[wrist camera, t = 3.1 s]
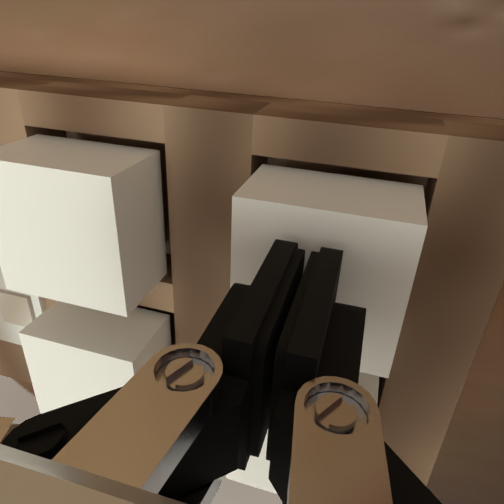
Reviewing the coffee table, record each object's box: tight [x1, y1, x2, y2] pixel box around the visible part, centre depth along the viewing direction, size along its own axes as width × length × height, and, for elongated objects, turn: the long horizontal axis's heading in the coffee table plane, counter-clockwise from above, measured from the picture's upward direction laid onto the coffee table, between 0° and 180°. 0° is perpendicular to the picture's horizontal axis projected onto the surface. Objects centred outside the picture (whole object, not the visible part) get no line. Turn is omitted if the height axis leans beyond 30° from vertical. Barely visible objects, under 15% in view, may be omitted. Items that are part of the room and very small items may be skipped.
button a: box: [230, 164, 428, 378], centre depth 13 cm, size 5×5×3 cm
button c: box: [0, 134, 167, 317], centre depth 14 cm, size 5×5×3 cm
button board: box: [0, 71, 504, 486], centre depth 18 cm, size 22×14×4 cm, turn 87°
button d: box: [19, 301, 171, 414], centre depth 18 cm, size 5×5×3 cm
